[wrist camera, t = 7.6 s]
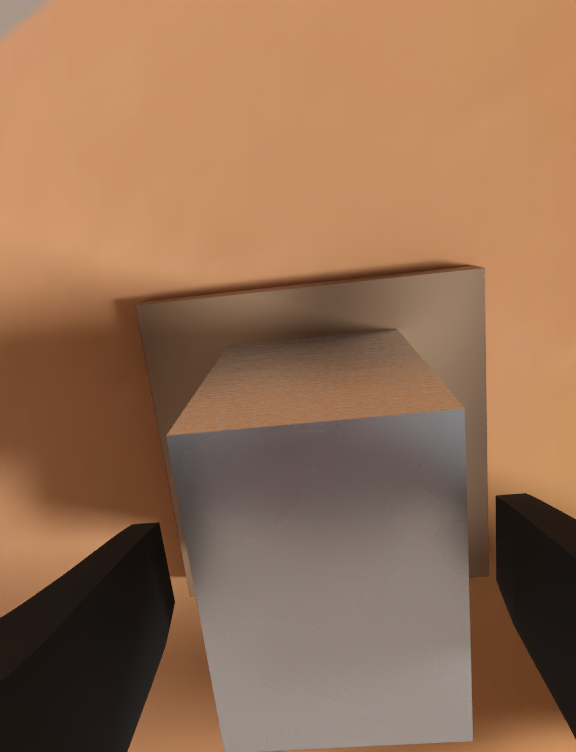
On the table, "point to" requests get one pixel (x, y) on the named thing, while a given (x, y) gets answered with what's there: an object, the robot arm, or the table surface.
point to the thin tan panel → (328, 318)
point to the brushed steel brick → (329, 543)
